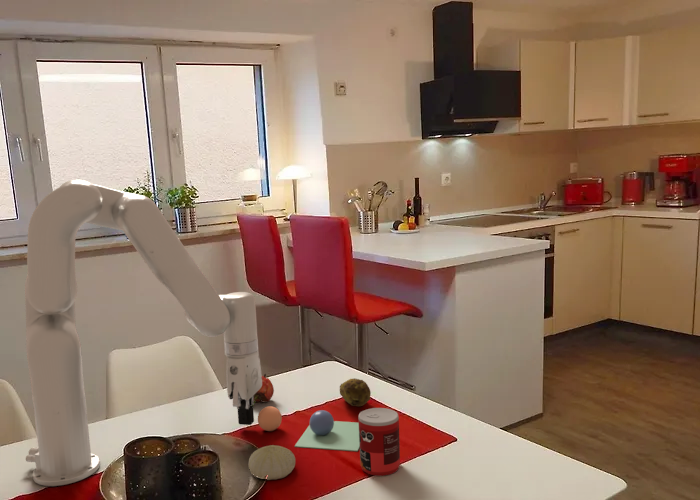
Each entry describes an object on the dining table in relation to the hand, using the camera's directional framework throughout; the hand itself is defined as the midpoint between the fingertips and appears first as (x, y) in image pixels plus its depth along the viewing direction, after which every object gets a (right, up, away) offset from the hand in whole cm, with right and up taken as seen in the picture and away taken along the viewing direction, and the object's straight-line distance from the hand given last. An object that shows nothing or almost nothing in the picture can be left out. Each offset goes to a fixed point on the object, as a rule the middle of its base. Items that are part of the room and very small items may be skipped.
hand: (246, 423), depth 147 cm
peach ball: (+6, +1, -1) cm, 6 cm away
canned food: (+30, -3, -20) cm, 36 cm away
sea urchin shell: (+8, -5, -20) cm, 22 cm away
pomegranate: (+1, +1, +16) cm, 16 cm away
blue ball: (+18, +1, -5) cm, 18 cm away
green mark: (+20, -1, -5) cm, 21 cm away
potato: (+25, +1, +11) cm, 28 cm away
